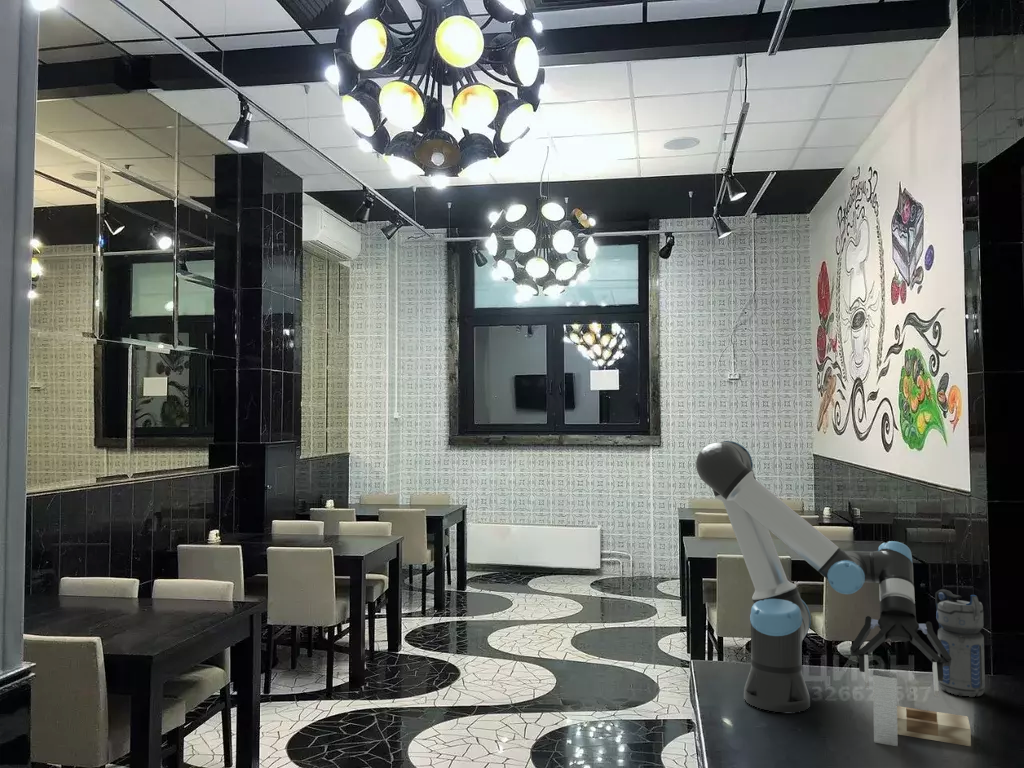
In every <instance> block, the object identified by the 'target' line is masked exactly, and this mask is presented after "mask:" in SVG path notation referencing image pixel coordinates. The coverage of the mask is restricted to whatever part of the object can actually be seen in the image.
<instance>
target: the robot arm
mask: <svg viewBox="0 0 1024 768" xmlns="http://www.w3.org/2000/svg"><path fill="white" fill-rule="evenodd" d="M695 468H696V472H697V475H698V476H699V478H700V479H701V480H702V481H703V483H704V484H705V485H707V486H708V487H709V488H711V489H712V492H713V496H714V498H716V499H717V500H720V501H721V502H722V503H723V505H724V508H725V511H726V514H727V516H728V519H729V522H730V524H731V527H732V530H733V533H734V536H735V538H736V541H737V544H738V547H739V549H740V552H741V554H742V557H743V560H744V562H745V566H746V569H747V571H748V574H749V577H750V579H751V582H752V585H753V588H754V592H753V594H752V597H751V600H752V602H753V604H752V606H751V609H750V616H749V619H750V657H751V658H750V670H749V674H748V676H747V678H746V682H745V684H744V687H743V700H744V699H745V700H746V701H747V702H748V703H749V704H751V705H753V706H756V707H758V708H761V709H765V710H769V711H775V712H799V711H804V710H806V709H808V708H809V707H811V695H810V694H809V690H808V687H807V684H806V681H805V678H804V675H803V665H802V664H803V663H802V662H803V661H802V660H803V657H802V656H803V655H802V654H803V652H802V650H803V649H802V648H803V647H802V645H803V640H804V639H805V637H806V636H807V634H808V633H809V630H810V628H811V622H812V621H811V618H812V617H811V613H810V609H809V607H808V605H807V604H806V602H805V601H804V600H803V599H802V598H801V595H800V592H799V590H798V587H797V585H796V584H795V583H793V582H791V581H789V580H788V578H787V575H786V572H785V570H784V567H783V565H782V561H781V560H780V556H779V553H778V551H777V548H776V546H775V542H774V540H773V538H772V536H771V533H772V534H773V535H774V536H775V537H776V538H778V539H779V540H780V541H782V543H783V544H785V545H786V546H787V547H788V548H789V549H791V550H792V551H793V552H794V553H796V555H798V556H799V557H800V558H802V560H804V561H805V562H807V563H808V564H809V565H810V566H811V567H812V568H813V569H815V570H816V571H817V572H818V573H819V574H820V575H821V576H823V577H824V578H825V579H826V580H827V581H828V583H829V585H830V587H831V588H832V589H833V590H834V591H835V592H837V593H839V594H842V595H852V594H854V593H856V592H858V591H859V590H860V589H861V588H863V585H864V584H865V583H873V584H876V583H878V587H879V588H878V590H879V591H878V594H879V619H876V618H875V619H874V618H872V616H870V615H866V616H865V619H864V620H865V621H864V625H863V626H862V628H861V630H860V631H859V632H858V634H857V635H856V638H855V639H854V641H853V642H852V644H851V645H850V648H849V649H850V650H849V652H850V655H851V656H852V657H857V658H858V669H859V672H860V673H864V689H869V688H870V686H869V685H870V684H869V683H870V682H869V680H870V678H869V655H870V654H872V653H873V652H874V651H875V650H876V649H877V648H878V647H879V646H880V645H881V644H883V643H885V642H886V641H887V640H888V639H889V640H891V641H893V642H897V641H900V642H903V643H907V642H910V643H911V644H912V645H913V646H915V647H916V648H917V649H918V650H920V652H921V653H922V654H923V655H924V656H925V657H926V658H927V659H928V660H929V661H930V662H931V663H932V667H931V668H932V679H933V681H932V682H933V692H934V693H933V695H934V697H936V698H939V697H940V696H939V695H940V693H939V692H940V690H939V689H940V688H939V687H940V686H939V681H943V667H944V666H951V657H950V655H949V654H948V652H947V651H946V649H945V648H944V646H943V645H942V643H941V642H940V640H939V639H938V635H937V634H936V633H935V631H934V627H933V623H932V622H931V621H928V620H927V621H926V622H925V623H918V621H917V614H916V613H917V611H916V601H915V600H916V598H915V596H916V595H915V581H914V564H913V556H912V555H913V554H912V551H911V549H910V547H908V545H906V544H904V543H903V542H899V541H897V540H896V541H895V540H894V541H893V540H891V541H890V540H889V541H887V542H883V543H881V544H880V545H879V546H878V550H876V551H875V550H874V551H862V550H861V551H858V550H843V549H841V548H840V547H839V546H837V544H835V543H834V542H833V541H832V540H830V539H829V538H828V537H827V536H825V535H824V534H823V533H822V532H821V531H819V530H818V529H817V528H816V527H814V526H813V525H812V524H811V523H810V522H808V520H806V519H805V518H803V517H802V516H801V515H800V514H798V513H797V512H796V511H795V510H793V509H792V508H791V507H790V506H789V505H787V503H785V502H784V501H783V500H781V499H780V498H779V497H778V496H776V495H775V494H774V493H773V492H772V491H770V490H769V489H768V488H767V487H766V486H764V485H763V484H762V483H760V481H758V480H757V478H756V476H755V473H754V470H753V459H752V455H751V453H750V452H749V451H748V449H747V448H746V447H744V446H743V445H741V444H740V443H738V442H735V441H732V440H723V441H717V442H716V441H715V442H711V443H709V444H707V445H705V446H704V447H703V448H702V449H701V450H700V451H699V453H697V457H696V460H695ZM876 627H878V628H879V629H880V630H879V631H878V633H877V634H876V635H874V636H873V637H872V638H871V639H870V640H869V641H868V642H867V643H865V641H866V639H867V638H868V636H869V635H870V633H871V630H874V629H875V628H876ZM919 631H922V634H924V635H926V638H927V639H928V640H929V642H930V643H931V645H932V647H933V648H934V650H935V651H936V652H937V653H936V652H935V651H934V650H933V649H932V647H930V645H928V644H927V643H926V642H925V641H924V640H923V639H922V638H921V636H920V635H919V634H918V632H919ZM864 643H865V644H864ZM863 644H864V645H863ZM938 654H939V656H940V657H941V658H940V657H939V656H938ZM745 700H744V701H745ZM749 704H748V705H749ZM751 705H750V706H751ZM753 706H752V707H753ZM758 708H757V709H758ZM761 709H760V710H761ZM809 709H810V708H809ZM809 709H808V710H809ZM769 711H768V712H769ZM806 711H807V710H806ZM775 712H774V713H775ZM804 712H805V711H804ZM799 713H800V712H799Z"/></svg>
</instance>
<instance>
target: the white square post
mask: <svg viewBox="0 0 1024 768" xmlns="http://www.w3.org/2000/svg"><path fill="white" fill-rule="evenodd" d="M897 674H898V673H897V672H894V671H885V670H876V669H873V672H872V689H873V690H872V692H873V693H872V694H873V695H872V697H873V699H872V700H873V704H872V705H873V710H872V711H873V743H875V744H882V745H887V746H893V747H898V746H899V745H898V743H899V736H898V735H899V734H898V727H897V706H898V681H897V680H898V678H897V676H898V675H897Z"/></svg>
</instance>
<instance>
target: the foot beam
mask: <svg viewBox="0 0 1024 768" xmlns="http://www.w3.org/2000/svg"><path fill="white" fill-rule="evenodd" d="M897 727H898V735H900V736H905V737H906V736H907V737H912V738H918V739H923V740H932V741H937V742H940V743H941V742H942V743H943V742H944V743H949V744H955V745H961V746H967V747H972V737H971V736H972V735H971V733H972V730H971V725H970V721H969V717H968V716H966V715H960V714H954V713H949V712H948V713H947V712H940V711H939V712H938V711H933V710H926V709H920V708H915V707H914V708H912V707H908V706H907V707H906V706H900V705H897Z"/></svg>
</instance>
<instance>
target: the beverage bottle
mask: <svg viewBox="0 0 1024 768" xmlns="http://www.w3.org/2000/svg"><path fill="white" fill-rule="evenodd" d="M969 596H970V601H967V600H960V599H961V598H963V596H962V595H957V594H953V593H952V591H951V590H947V589H944V588H943V589H942V588H941V589H939V590H937V591H936V592H935V594H934V601H935V608H936V614H935V615H936V616H935V618H936V621H937V623H938V629H937V637H938V639H939V640H940V642H941V643H942V645H943V646H944V648H945V649H946V651H947V652H948V654H949V655H950V657H951V666H944V667H943V681H938V686H939V687H940V688H941V690H943V691H945V692H946V693H947V694H950V693H951V694H950V695H953V694H954V696H957V695H959V696H958V697H962V696H969V697H968V698H975V696H976V697H980V696H982V695H983V694H984V693H985V691H986V680H985V679H986V678H985V677H986V676H985V674H986V672H985V636H984V634H983V633H982V632H981V630H982V629H983V628H984V627H985V626H984V606H983V603H982V602H981V601H979V597H978V596H977V595H975V594H971V595H969ZM958 599H959V600H958ZM937 655H938V656H939V654H938V653H937ZM939 657H940V656H939ZM940 658H941V657H940Z"/></svg>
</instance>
